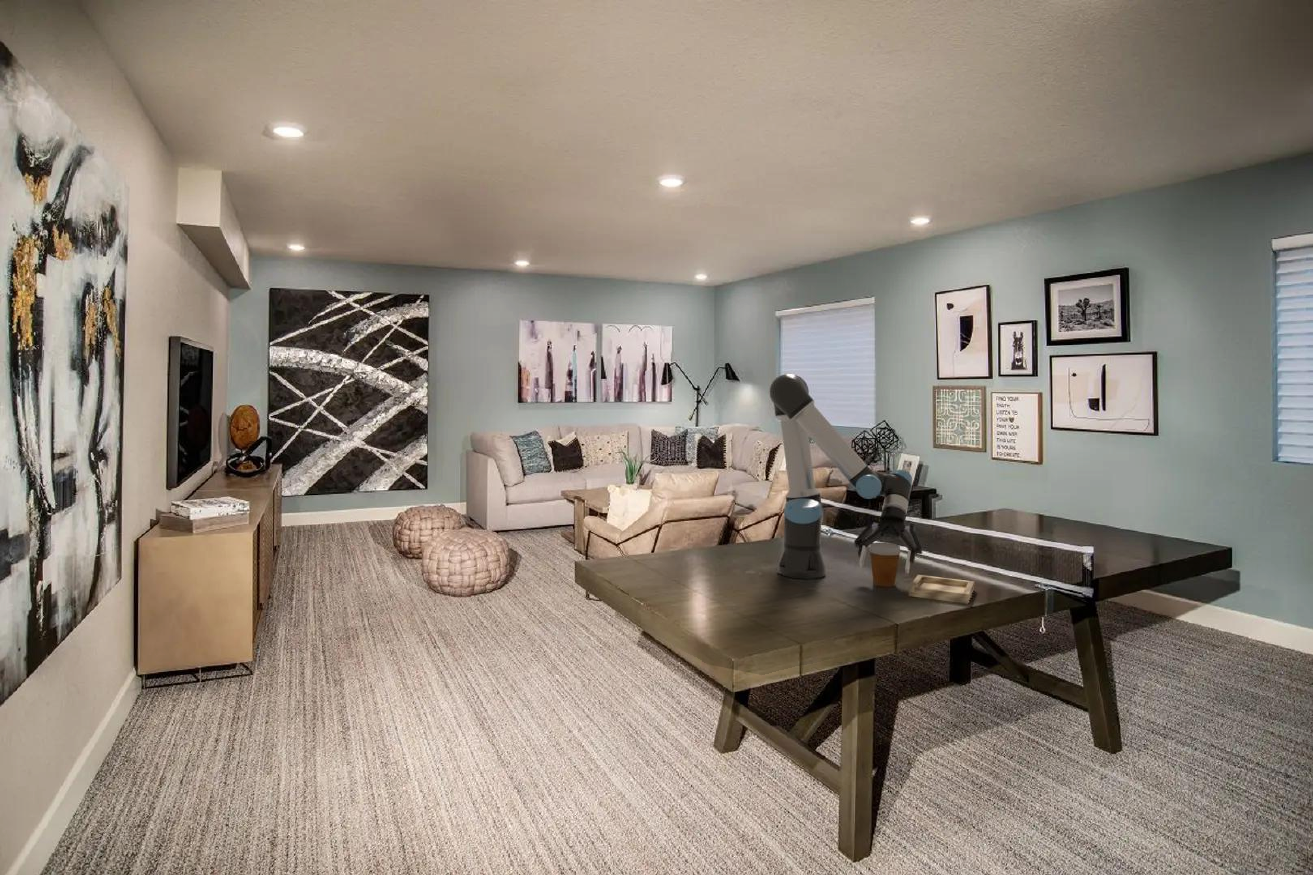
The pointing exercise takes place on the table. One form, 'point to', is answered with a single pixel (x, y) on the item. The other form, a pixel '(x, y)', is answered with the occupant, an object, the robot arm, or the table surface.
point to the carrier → (942, 589)
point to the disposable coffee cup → (884, 563)
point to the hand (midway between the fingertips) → (883, 568)
